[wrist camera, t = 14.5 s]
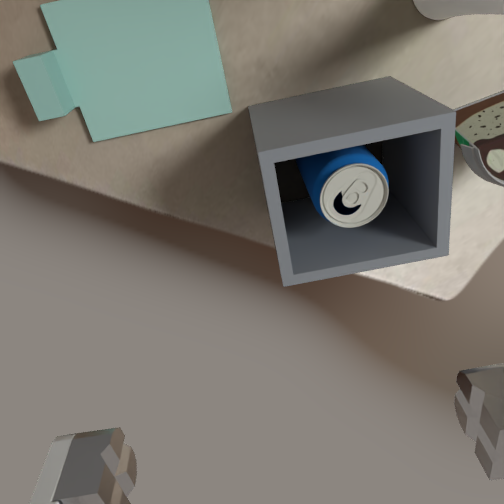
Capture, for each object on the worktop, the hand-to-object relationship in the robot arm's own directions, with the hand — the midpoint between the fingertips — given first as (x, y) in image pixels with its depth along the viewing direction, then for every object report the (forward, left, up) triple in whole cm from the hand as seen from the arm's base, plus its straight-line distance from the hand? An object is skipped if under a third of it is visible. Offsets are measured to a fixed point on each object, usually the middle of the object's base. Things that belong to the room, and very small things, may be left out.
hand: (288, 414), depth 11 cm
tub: (+7, +8, -37) cm, 39 cm away
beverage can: (+7, +8, -37) cm, 39 cm away
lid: (-4, -10, -37) cm, 39 cm away
